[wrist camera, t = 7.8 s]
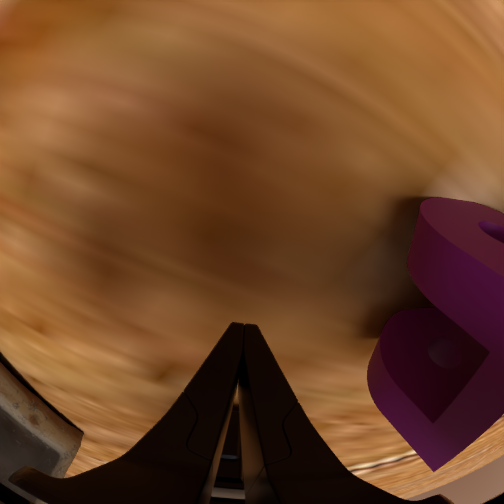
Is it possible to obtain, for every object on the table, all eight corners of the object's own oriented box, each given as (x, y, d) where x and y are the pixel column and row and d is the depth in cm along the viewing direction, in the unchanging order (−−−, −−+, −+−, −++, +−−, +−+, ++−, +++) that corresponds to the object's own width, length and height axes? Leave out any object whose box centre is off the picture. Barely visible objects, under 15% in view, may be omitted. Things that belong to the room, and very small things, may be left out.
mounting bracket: (506, 187, 17) (383, 204, 10) (581, 231, 10) (570, 328, 4) (476, 281, 22) (340, 365, 15) (537, 328, 15) (433, 472, 8)
